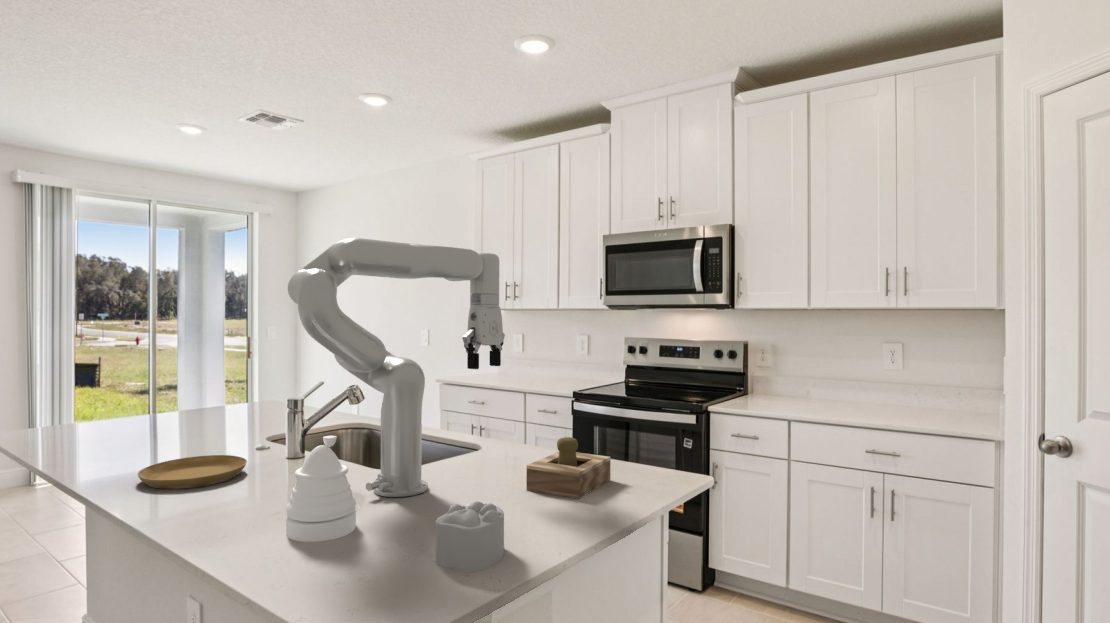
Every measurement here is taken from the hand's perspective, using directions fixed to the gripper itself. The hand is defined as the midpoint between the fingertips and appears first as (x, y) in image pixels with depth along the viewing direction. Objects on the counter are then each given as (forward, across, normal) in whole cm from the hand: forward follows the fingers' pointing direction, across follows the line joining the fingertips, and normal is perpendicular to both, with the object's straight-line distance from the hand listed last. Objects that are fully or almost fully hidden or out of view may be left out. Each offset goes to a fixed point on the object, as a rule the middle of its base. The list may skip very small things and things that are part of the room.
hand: (484, 367), depth 164 cm
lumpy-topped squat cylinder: (+29, -44, -28) cm, 59 cm away
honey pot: (+29, -48, +5) cm, 56 cm away
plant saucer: (+29, -38, +63) cm, 79 cm away
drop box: (+28, +4, -23) cm, 37 cm away
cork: (+28, +3, -23) cm, 36 cm away
